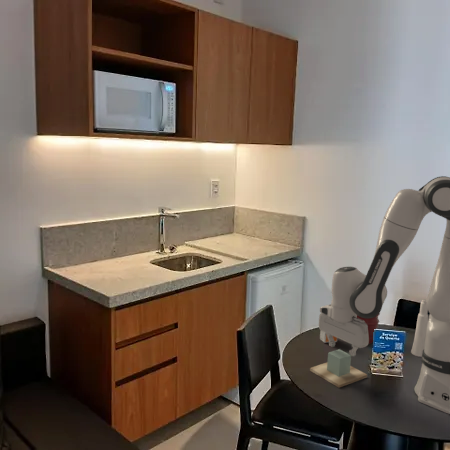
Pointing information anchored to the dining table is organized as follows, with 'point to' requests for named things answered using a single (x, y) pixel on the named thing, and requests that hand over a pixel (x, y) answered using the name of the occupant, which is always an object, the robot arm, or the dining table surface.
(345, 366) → the pale green cube
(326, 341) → the skincare box
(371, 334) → the canister
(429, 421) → the dining table surface
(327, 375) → the post board
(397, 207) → the robot arm
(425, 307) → the cosmetic bottle
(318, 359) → the dining table surface
